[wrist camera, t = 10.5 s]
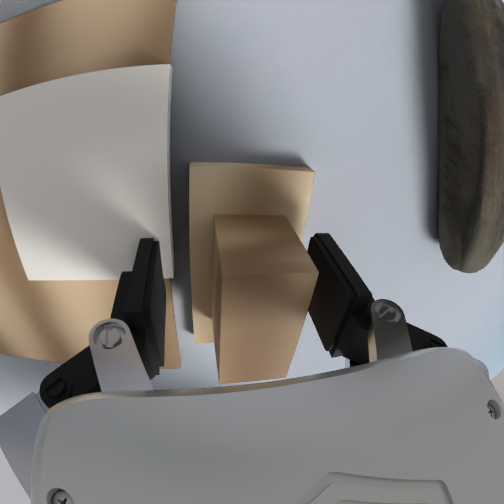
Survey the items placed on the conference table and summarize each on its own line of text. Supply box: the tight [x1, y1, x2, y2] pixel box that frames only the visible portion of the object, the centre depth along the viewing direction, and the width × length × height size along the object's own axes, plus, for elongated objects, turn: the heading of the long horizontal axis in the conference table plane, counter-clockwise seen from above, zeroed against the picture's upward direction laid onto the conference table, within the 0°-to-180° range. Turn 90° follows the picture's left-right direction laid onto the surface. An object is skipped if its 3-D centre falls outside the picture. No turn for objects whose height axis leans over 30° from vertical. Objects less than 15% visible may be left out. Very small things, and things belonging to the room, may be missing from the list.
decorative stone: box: [438, 0, 504, 273], centre depth 10 cm, size 17×6×4 cm, turn 7°
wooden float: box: [189, 162, 319, 384], centre depth 12 cm, size 5×10×5 cm, turn 174°
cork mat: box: [0, 0, 181, 369], centre depth 10 cm, size 15×20×1 cm
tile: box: [0, 64, 174, 280], centre depth 9 cm, size 7×1×8 cm
